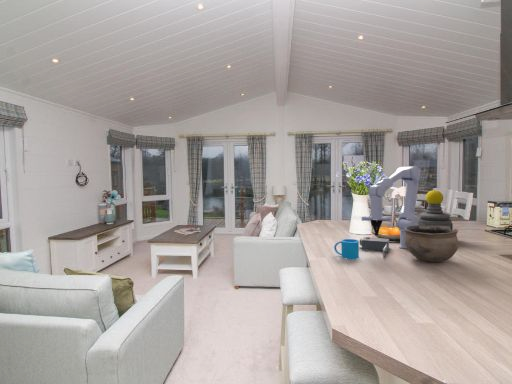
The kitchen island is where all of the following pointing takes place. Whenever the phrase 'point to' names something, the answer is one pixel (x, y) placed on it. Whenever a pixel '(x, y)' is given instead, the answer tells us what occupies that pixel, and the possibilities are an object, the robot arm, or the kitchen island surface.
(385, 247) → the side door
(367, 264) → the kitchen island surface
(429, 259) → the ceramic bowl
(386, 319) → the kitchen island surface
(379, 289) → the kitchen island surface
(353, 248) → the mug
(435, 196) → the decorative lamp
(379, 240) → the camera body
